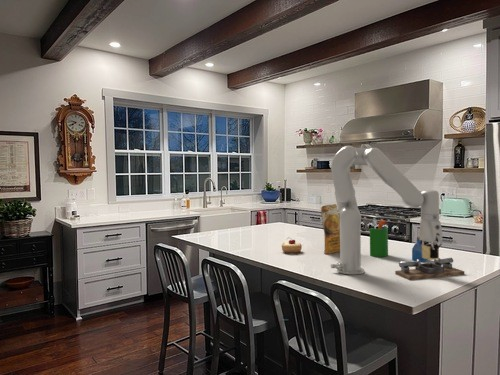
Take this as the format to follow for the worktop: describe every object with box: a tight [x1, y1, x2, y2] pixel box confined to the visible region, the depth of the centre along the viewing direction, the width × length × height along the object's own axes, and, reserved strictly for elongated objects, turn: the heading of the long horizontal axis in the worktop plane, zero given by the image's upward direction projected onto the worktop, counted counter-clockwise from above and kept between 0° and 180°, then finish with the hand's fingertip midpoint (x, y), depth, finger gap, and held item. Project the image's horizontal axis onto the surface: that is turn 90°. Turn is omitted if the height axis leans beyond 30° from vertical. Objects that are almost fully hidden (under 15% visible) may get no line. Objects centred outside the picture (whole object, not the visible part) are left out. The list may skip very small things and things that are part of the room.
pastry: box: [281, 237, 303, 254], centre depth 230 cm, size 12×12×9 cm
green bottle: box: [369, 220, 389, 258], centre depth 217 cm, size 10×9×20 cm
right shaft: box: [433, 257, 454, 269], centre depth 181 cm, size 9×4×7 cm, turn 114°
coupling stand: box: [394, 262, 465, 281], centre depth 177 cm, size 29×10×4 cm, turn 104°
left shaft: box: [398, 260, 422, 273], centre depth 177 cm, size 9×4×7 cm, turn 94°
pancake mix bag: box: [320, 203, 340, 255], centre depth 228 cm, size 7×19×28 cm, turn 132°
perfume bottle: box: [411, 236, 429, 263], centre depth 205 cm, size 6×6×12 cm
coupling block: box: [422, 243, 440, 261], centre depth 177 cm, size 5×5×7 cm
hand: (430, 256), depth 177 cm, fingers closed on coupling block, 5 cm apart
